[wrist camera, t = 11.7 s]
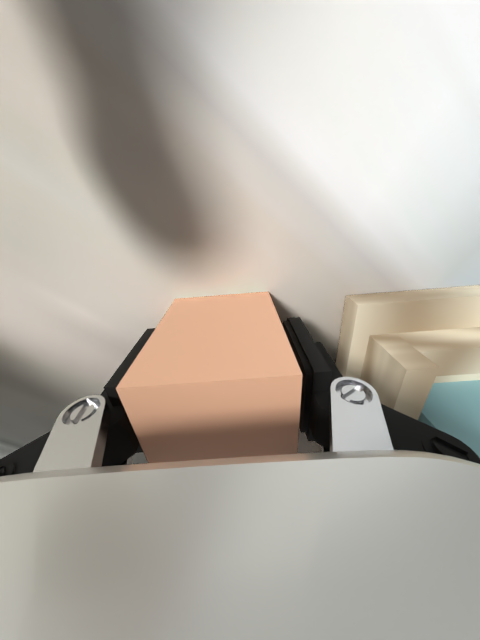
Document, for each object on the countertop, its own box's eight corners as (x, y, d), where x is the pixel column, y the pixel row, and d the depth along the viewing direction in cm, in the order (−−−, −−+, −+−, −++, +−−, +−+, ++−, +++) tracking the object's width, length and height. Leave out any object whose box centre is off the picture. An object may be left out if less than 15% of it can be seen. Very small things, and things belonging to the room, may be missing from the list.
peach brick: (193, 378, 13) (163, 497, 8) (175, 298, 11) (115, 388, 5) (269, 372, 13) (294, 489, 7) (268, 291, 11) (302, 374, 5)
